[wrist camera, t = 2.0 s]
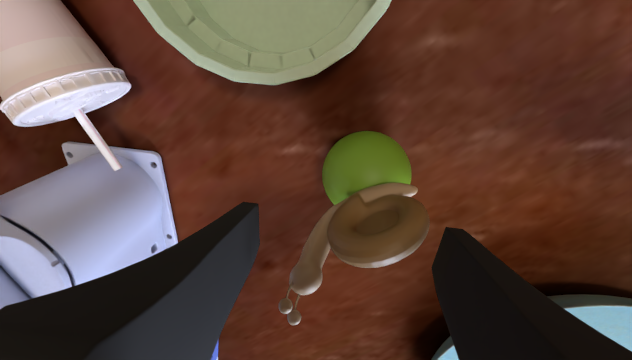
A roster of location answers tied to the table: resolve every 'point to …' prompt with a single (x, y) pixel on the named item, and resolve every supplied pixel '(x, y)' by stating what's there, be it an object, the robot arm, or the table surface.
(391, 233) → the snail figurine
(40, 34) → the smoothie
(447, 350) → the teal plate
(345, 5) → the bowl
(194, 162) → the table surface
